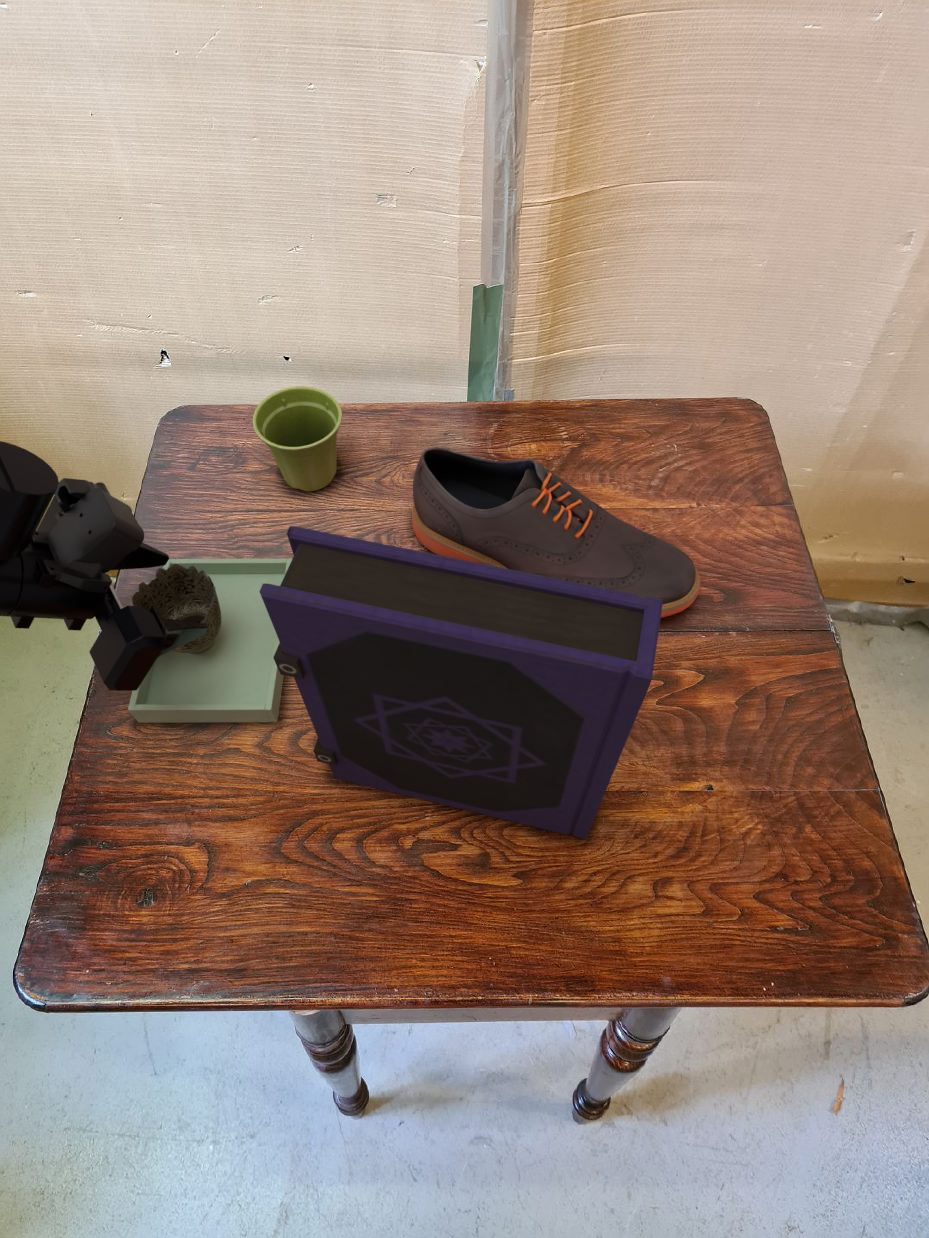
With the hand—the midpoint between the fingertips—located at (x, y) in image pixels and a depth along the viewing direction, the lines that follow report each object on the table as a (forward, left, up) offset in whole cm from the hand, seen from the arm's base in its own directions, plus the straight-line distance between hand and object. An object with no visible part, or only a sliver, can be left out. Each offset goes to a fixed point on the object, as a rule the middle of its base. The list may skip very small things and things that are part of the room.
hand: (186, 594), depth 73 cm
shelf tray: (+1, -1, -8) cm, 8 cm away
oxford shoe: (+35, -2, -8) cm, 36 cm away
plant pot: (+14, +19, -8) cm, 25 cm away
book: (+19, -22, -8) cm, 30 cm away
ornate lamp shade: (-1, 0, -8) cm, 8 cm away
